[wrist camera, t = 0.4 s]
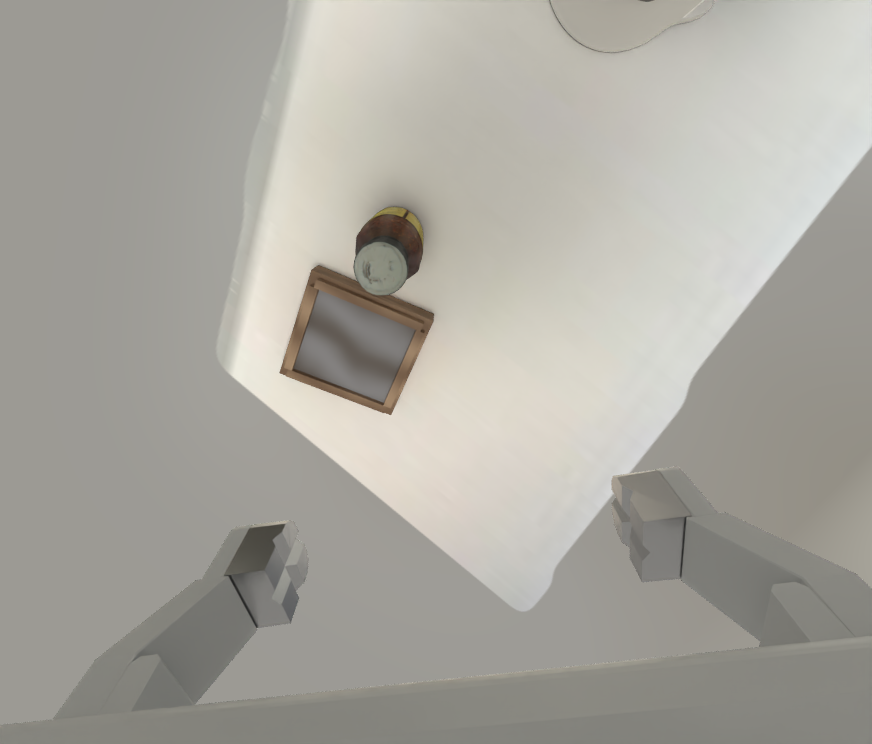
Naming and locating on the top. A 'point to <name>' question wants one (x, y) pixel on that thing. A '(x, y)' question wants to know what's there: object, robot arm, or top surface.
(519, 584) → the top surface
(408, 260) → the sauce bottle
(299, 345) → the tray
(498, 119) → the top surface
